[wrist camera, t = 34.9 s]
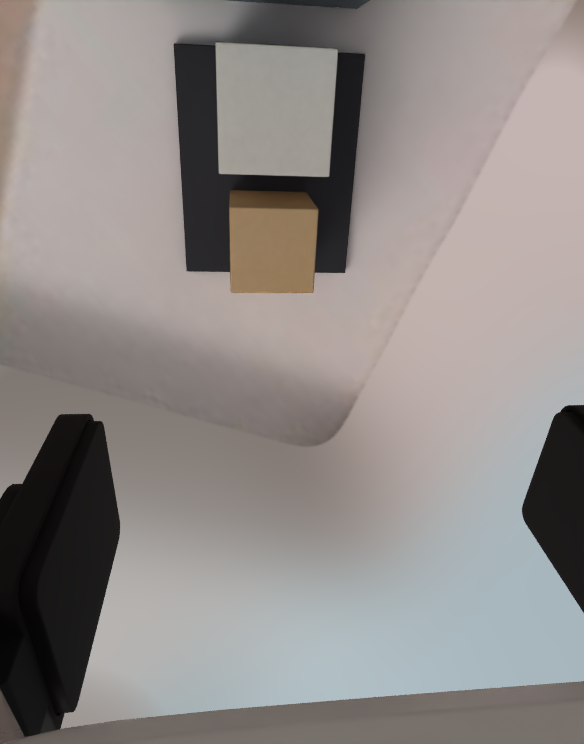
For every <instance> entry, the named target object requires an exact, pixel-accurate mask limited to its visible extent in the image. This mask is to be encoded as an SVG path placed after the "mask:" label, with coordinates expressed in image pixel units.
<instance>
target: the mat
mask: <svg viewBox="0 0 584 744" xmlns="http://www.w3.org/2000/svg"><path fill="white" fill-rule="evenodd" d="M174 57H175V75H176V92H177V109H178V127H179V144H180V161H181V179H182V196H183V214H184V231H185V248H186V266H187V271H207V272H230V221H229V203H230V191H231V190H244V191H283V192H306V193H307V194H308V195H309V197H310V198H311V200H312V201H313V203H314V204H315V205H316V207H317V208H318V226H317V242H316V258H315V273H345V268H346V257H347V246H348V235H349V224H350V213H351V203H352V192H353V181H354V170H355V159H356V148H357V137H358V126H359V116H360V105H361V94H362V83H363V72H364V61H365V54H357V53H338V59H337V73H336V88H335V102H334V116H333V130H332V144H331V158H330V172H329V177H310V176H276V175H241V174H219V162H218V122H217V82H216V46H211V45H192V44H174Z"/></svg>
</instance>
